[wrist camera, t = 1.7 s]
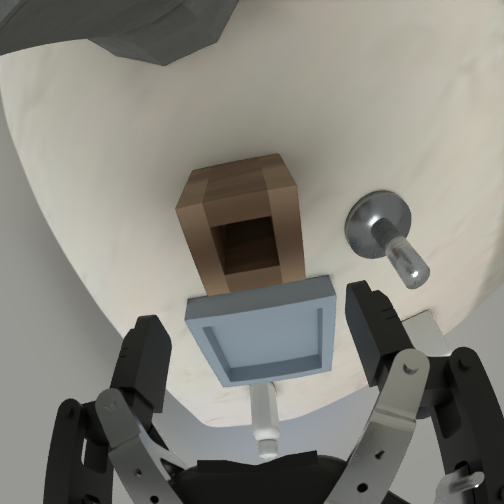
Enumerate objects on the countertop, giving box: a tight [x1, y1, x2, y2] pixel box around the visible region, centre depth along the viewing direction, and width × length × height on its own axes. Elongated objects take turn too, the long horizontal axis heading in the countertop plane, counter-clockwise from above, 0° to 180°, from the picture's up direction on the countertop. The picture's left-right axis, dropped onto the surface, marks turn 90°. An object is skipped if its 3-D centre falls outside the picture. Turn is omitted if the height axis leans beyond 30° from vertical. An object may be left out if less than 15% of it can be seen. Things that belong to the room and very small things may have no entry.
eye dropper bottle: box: [250, 382, 280, 462], centre depth 31 cm, size 4×6×12 cm
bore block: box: [175, 154, 306, 296], centre depth 17 cm, size 6×6×6 cm
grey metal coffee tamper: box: [345, 191, 430, 289], centre depth 18 cm, size 6×6×7 cm
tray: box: [185, 275, 336, 387], centre depth 27 cm, size 13×13×3 cm
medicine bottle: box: [402, 310, 452, 419], centre depth 26 cm, size 7×7×12 cm
